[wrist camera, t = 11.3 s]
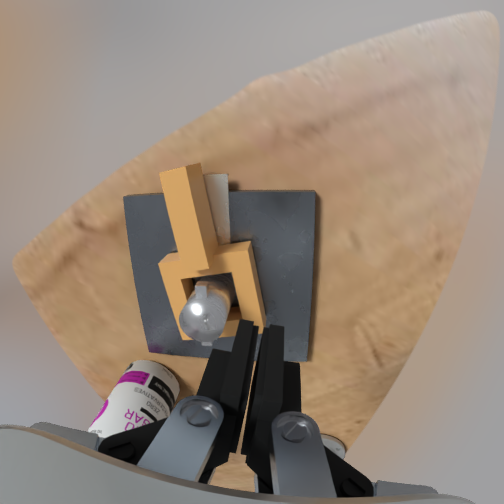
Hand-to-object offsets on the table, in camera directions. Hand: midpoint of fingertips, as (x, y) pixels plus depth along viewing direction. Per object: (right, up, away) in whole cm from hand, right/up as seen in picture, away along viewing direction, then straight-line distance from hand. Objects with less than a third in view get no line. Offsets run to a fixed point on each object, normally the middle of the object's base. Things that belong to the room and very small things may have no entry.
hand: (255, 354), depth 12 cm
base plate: (-4, +1, +24) cm, 24 cm away
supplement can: (-14, -14, +30) cm, 36 cm away
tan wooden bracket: (-5, +4, +21) cm, 22 cm away
